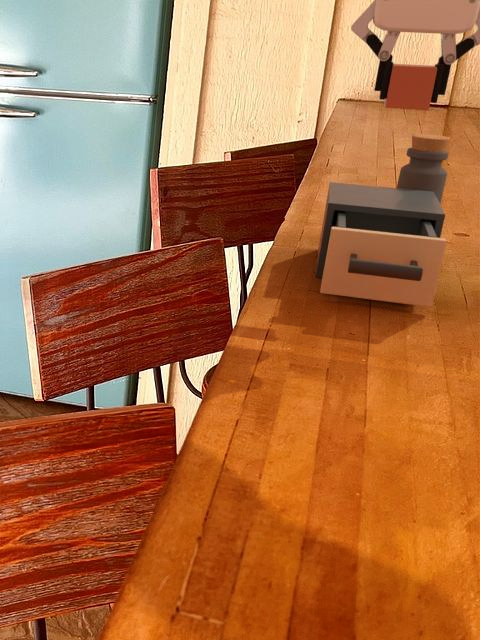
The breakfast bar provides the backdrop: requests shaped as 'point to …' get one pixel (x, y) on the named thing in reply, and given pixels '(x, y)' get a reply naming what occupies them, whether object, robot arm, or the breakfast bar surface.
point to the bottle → (425, 165)
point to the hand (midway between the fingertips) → (407, 98)
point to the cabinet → (376, 209)
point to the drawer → (383, 258)
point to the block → (411, 86)
